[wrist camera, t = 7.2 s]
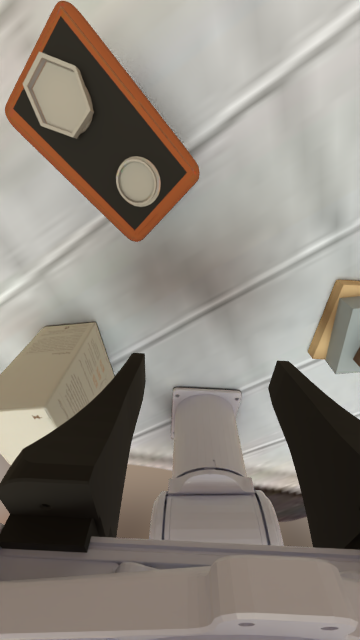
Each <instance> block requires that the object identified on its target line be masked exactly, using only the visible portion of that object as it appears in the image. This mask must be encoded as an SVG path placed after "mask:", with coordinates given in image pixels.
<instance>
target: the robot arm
mask: <svg viewBox="0 0 360 640" xmlns="http://www.w3.org/2000/svg"><path fill="white" fill-rule="evenodd" d="M144 388H145V354H142V353H133V354H132V355H131V356H130V357H129V359H128V360H127V362H126V363H125V364H124V366H123V367H122V368H121V370H120V371H119V372H118V373H117V374H116V376H115V377H114V378H113V379H112V380H111V382H110V383H109V384H108V385H107V386H106V387H105V388H104V389H103V390H102V391H101V392H100V393H99V394H98V395H97V396H96V397H95V398H94V399H93V400H92V401H91V402H90V403H89V404H87V405H86V406H85V407H84V408H83V409H81V410H80V411H79V412H78V413H77V414H75V415H74V416H73V417H72V418H70V419H69V420H67V421H66V422H65V423H63V424H62V425H60V426H59V427H58V428H56V429H55V430H53V431H52V432H50V433H49V434H47V435H46V436H44V437H42V438H41V439H39V440H37V441H35V442H34V443H32V444H30V445H29V446H27V447H25V448H23V449H22V451H21V452H20V454H19V455H18V456H17V457H16V459H15V460H14V462H13V463H12V465H11V467H10V468H9V470H8V471H7V473H6V475H5V476H4V478H3V479H2V481H1V483H0V500H1V501H2V503H3V504H4V506H5V507H6V509H7V510H8V511H9V513H10V516H9V518H8V519H7V521H6V524H5V525H3V524H2V523H0V640H360V420H359V419H358V418H356V417H355V416H353V415H352V414H350V413H349V412H348V411H346V410H345V409H344V408H342V407H341V406H340V405H338V404H337V403H336V402H335V401H333V400H332V399H331V398H330V397H328V396H327V395H326V394H325V393H324V392H322V391H321V390H320V389H319V388H318V387H317V386H316V385H314V384H313V383H312V382H311V381H310V380H309V379H308V378H307V377H306V376H304V375H303V374H302V373H301V372H300V371H299V370H298V369H297V368H296V367H295V366H293V365H292V364H291V363H290V362H289V361H277V363H276V366H275V369H274V372H273V375H272V378H271V381H270V384H269V387H268V389H269V393H270V397H271V401H272V405H273V408H274V411H275V413H276V416H277V418H278V421H279V424H280V426H281V429H282V431H283V434H284V436H285V439H286V441H287V444H288V447H289V449H290V452H291V455H292V459H293V463H294V466H295V470H296V473H297V477H298V481H299V485H300V489H301V493H302V497H303V501H304V506H305V510H306V514H307V518H308V523H309V529H310V534H311V539H312V544H313V547H294V546H283V540H282V536H281V532H280V527H279V524H278V520H277V517H276V513H275V511H274V508H273V506H272V503H271V502H270V500H269V499H268V498H267V497H266V496H265V495H264V493H263V492H262V491H260V490H255V491H254V487H253V482H252V478H251V477H247V475H246V470H245V465H244V460H243V455H242V450H241V445H240V440H239V435H238V430H237V425H236V416H237V412H238V408H239V404H240V400H241V396H242V394H241V392H240V391H234V390H215V389H196V388H174V390H173V405H172V425H171V438H172V439H174V452H173V473H172V479H169V487H168V488H169V489H168V491H165V492H164V491H163V492H161V493H160V495H159V496H158V498H157V499H156V500H155V502H154V505H153V510H152V517H151V524H150V535H149V539H133V538H132V539H131V538H116V535H117V528H118V520H119V513H120V507H121V501H122V493H123V488H124V481H125V475H126V469H127V463H128V457H129V452H130V446H131V442H132V437H133V433H134V430H135V426H136V422H137V419H138V415H139V411H140V408H141V404H142V400H143V395H144ZM176 394H178V395H176Z"/></svg>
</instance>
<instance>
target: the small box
mask: <svg viewBox="0 0 360 640" xmlns="http://www.w3.org/2000/svg"><path fill="white" fill-rule="evenodd" d="M114 377H115V376H114V374H113V371H112V368H111V365H110V362H109V359H108V356H107V354H106V351H105V348H104V345H103V342H102V339H101V336H100V333H99V330H98V328H97V325H96V323H95V322H93V323H82V324H72V325H61V326H49V327H44V328H42V330H41V331H40V332H39V333H38V334H37V335H36V336H35V337H34V338H33V339H32V341H31V342H30V343H29V344H28V345H27V346H26V347H25V348H24V349H23V350H22V352H21V353H20V354H19V355H18V356H17V357H16V358H15V359H14V360H13V361H12V362H11V364H10V365H9V366H8V367H7V368H6V369H5V370H4V371H3V372H2V373H1V375H0V454H1V455H2V456H3V457H4V458H5V459H6V461H7V462H8V463H9V464H10V465H12V463H13V462H14V460H15V459H16V457H17V456H18V455H19V454H20V452H21V451H22V449H23V448H25V447H27V446H29V445H30V444H32V443H34V442H35V441H37V440H39V439H41V438H42V437H44V436H46V435H47V434H49V433H50V432H52V431H53V430H55V429H56V428H58V427H59V426H60V425H62V424H63V423H65V422H66V421H67V420H69V419H70V418H72V417H73V416H74V415H75V414H77V413H78V412H79V411H80V410H81V409H83V408H84V407H85V406H86V405H87V404H89V403H90V402H91V401H92V400H93V399H94V398H95V397H96V396H97V395H98V394H99V393H100V392H101V391H102V390H103V389H104V388H105V387H106V386H107V385H108V384H109V383H110V382H111V380H112V379H113V378H114Z"/></svg>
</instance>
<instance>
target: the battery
mask: <svg viewBox="0 0 360 640" xmlns="http://www.w3.org/2000/svg"><path fill="white" fill-rule="evenodd" d="M5 113H6V116H7V118H8V120H9V122H10V123H11V124H12V125H13V127H14V128H15V129H16V130H17V131H18V132H19V133H20V134H21V135H22V136H23V137H24V138H25V139H26V140H27V141H28V142H29V143H30V144H31V145H32V146H34V147H35V148H36V149H37V150H38V151H39V152H40V153H41V154H42V155H43V156H44V157H45V158H46V159H47V160H48V161H49V162H50V163H51V164H52V165H53V166H54V167H55V168H56V169H57V170H58V171H59V172H60V173H61V174H62V175H63V176H64V177H65V178H66V179H67V180H68V181H69V182H70V183H72V184H73V185H74V186H75V187H76V188H77V189H78V190H79V191H80V192H81V193H82V194H83V195H84V196H85V197H86V198H87V199H88V200H89V201H90V202H91V203H92V204H93V205H94V206H95V207H96V208H97V209H98V210H99V211H100V212H101V213H102V214H103V215H104V216H105V217H106V218H107V219H108V220H109V221H111V222H112V223H113V224H114V225H115V226H116V227H117V228H118V229H119V230H120V231H121V232H122V233H123V234H124V235H125V236H126V237H127V238H129V239H130V240H132V241H135V242H138V241H141V240H142V239H144V238H145V237H146V236H147V234H148V233H149V232H150V231H151V230H152V229H153V228H154V227H155V226H156V225H157V224H158V223H159V222H160V221H161V220H162V218H163V217H164V216H165V215H166V214H167V213H168V212H169V211H170V210H171V209H172V208H173V207H174V206H175V205H176V203H177V202H178V201H179V200H180V199H181V198H182V197H183V196H184V195H185V194H186V193H187V192H188V191H189V190H190V189H191V187H192V186H193V185H194V184H195V183H196V182H197V181H198V179H199V167H198V165H197V163H196V161H195V160H194V159H193V157H192V156H191V155H190V153H189V152H188V151H187V149H186V148H185V147H184V145H183V144H182V143H181V142H180V140H179V139H178V138H177V136H176V135H175V134H174V133H173V131H172V130H171V129H170V127H169V126H168V125H167V124H166V122H165V121H164V120H163V118H162V117H161V116H160V115H159V113H158V112H157V111H156V109H155V108H154V107H153V106H152V104H151V103H150V102H149V100H148V99H147V98H146V97H145V95H144V94H143V93H142V91H141V90H140V89H139V88H138V86H137V85H136V84H135V82H134V81H133V80H132V78H131V77H130V76H129V75H128V73H127V72H126V71H125V69H124V68H123V67H122V66H121V64H120V63H119V62H118V60H117V59H116V58H115V57H114V55H113V54H112V53H111V51H110V50H109V49H108V48H107V46H106V45H105V44H104V42H103V41H102V40H101V39H100V37H99V36H98V35H97V33H96V32H95V31H94V30H93V28H92V27H91V26H90V24H89V23H88V22H87V21H86V19H85V18H84V17H83V16H82V14H81V13H80V12H79V11H78V10H77V9H76V8H75V7H74V6H73V5H72V4H71V3H69V2H66V1H59V2H58V3H57V4H56V6H55V7H54V9H53V11H52V13H51V15H50V17H49V19H48V21H47V23H46V25H45V27H44V29H43V31H42V33H41V35H40V37H39V39H38V41H37V43H36V45H35V47H34V49H33V51H32V53H31V55H30V57H29V59H28V61H27V63H26V65H25V67H24V69H23V71H22V73H21V75H20V77H19V79H18V81H17V83H16V85H15V87H14V89H13V91H12V93H11V95H10V97H9V99H8V102H7V104H6V107H5Z"/></svg>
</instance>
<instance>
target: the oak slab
mask: <svg viewBox="0 0 360 640" xmlns="http://www.w3.org/2000/svg"><path fill="white" fill-rule="evenodd" d="M356 296H360V281H352V280H336V282H335V284H334V287H333V289H332V292H331V294H330V297H329V299H328V302H327V304H326V307H325V309H324V312H323V314H322V317H321V319H320V322H319V324H318V327H317V329H316V332H315V335H314V337H313V340H312V342H311V345H310V347H309V350H308V353H309V354H310V356H311V357H312V358H313V359H326V355H327V351H328V346H329V342H330V338H331V333H332V329H333V325H334V320H335V316H336V312H337V307H338V303H339V298H346V297H356Z"/></svg>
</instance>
